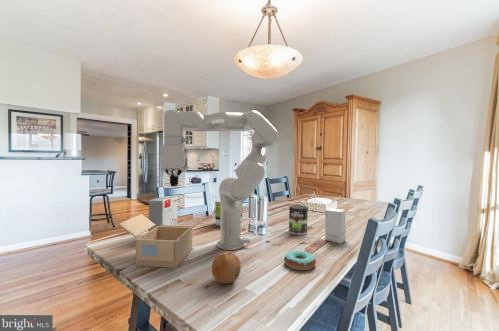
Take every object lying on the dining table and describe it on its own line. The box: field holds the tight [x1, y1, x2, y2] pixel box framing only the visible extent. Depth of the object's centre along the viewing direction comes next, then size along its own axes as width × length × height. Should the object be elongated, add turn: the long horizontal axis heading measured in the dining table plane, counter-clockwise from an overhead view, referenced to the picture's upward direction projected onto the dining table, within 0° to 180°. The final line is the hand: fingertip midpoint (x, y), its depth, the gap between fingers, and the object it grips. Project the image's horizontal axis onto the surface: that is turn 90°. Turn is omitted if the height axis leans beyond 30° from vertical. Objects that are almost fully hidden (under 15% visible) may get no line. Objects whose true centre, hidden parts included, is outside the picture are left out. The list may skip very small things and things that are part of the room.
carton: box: [135, 225, 193, 269], centre depth 100 cm, size 16×20×10 cm
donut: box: [283, 250, 317, 271], centre depth 95 cm, size 12×12×4 cm
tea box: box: [214, 199, 243, 227], centre depth 151 cm, size 15×10×15 cm, turn 144°
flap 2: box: [179, 214, 208, 239], centre depth 99 cm, size 1×16×8 cm
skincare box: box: [324, 207, 347, 244], centre depth 123 cm, size 8×7×16 cm
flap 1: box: [118, 213, 155, 238], centre depth 101 cm, size 1×16×8 cm
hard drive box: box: [147, 195, 179, 232], centre depth 125 cm, size 16×8×20 cm, turn 168°
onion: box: [211, 250, 242, 285], centre depth 81 cm, size 10×10×10 cm
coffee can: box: [288, 204, 309, 236], centre depth 136 cm, size 10×10×14 cm
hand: (174, 185), depth 101 cm, fingers closed
